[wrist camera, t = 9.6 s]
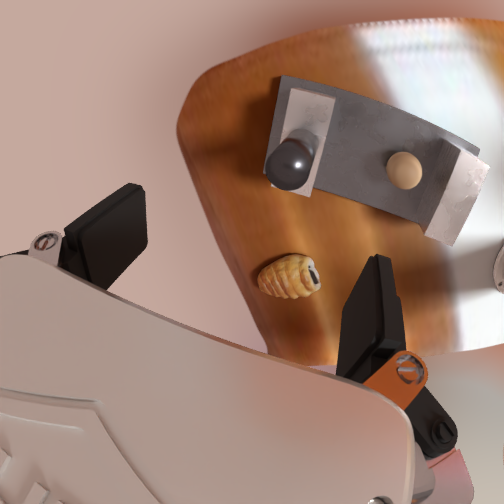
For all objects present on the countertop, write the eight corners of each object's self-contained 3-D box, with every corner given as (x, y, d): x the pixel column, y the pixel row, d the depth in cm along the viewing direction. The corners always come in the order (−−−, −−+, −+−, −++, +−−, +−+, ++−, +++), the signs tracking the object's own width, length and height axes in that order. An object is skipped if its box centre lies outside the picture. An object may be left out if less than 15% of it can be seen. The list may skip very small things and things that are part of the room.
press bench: (475, 145, 24) (499, 162, 19) (440, 227, 31) (454, 256, 26) (284, 75, 27) (271, 73, 22) (265, 169, 34) (250, 188, 29)
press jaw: (335, 97, 25) (334, 106, 15) (314, 180, 31) (298, 239, 21) (298, 87, 26) (271, 91, 16) (280, 170, 32) (247, 224, 22)
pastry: (270, 295, 46) (264, 311, 43) (251, 262, 43) (243, 278, 40) (325, 283, 42) (322, 300, 39) (308, 246, 39) (304, 262, 36)
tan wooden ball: (421, 155, 26) (431, 166, 23) (409, 186, 28) (417, 200, 25) (390, 142, 26) (396, 151, 23) (379, 174, 29) (384, 187, 26)
